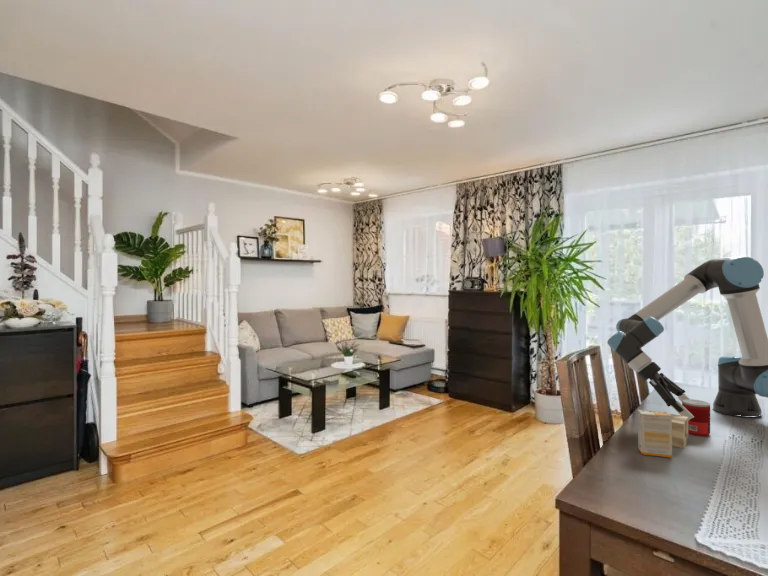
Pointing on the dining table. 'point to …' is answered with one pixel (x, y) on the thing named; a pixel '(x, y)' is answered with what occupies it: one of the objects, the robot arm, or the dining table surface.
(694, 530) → the dining table surface
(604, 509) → the dining table surface
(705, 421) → the canned food
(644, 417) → the supplement box
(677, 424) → the beech block
